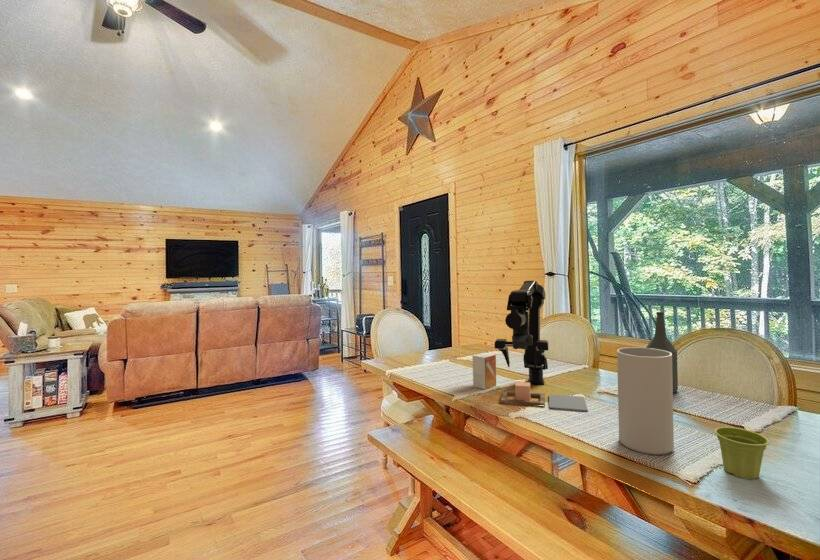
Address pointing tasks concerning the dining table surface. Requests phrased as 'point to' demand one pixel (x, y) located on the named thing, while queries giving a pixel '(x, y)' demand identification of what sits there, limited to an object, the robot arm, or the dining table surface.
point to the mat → (567, 403)
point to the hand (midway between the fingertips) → (521, 367)
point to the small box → (484, 370)
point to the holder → (522, 402)
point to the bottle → (665, 346)
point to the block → (522, 391)
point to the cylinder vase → (645, 400)
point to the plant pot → (741, 451)
